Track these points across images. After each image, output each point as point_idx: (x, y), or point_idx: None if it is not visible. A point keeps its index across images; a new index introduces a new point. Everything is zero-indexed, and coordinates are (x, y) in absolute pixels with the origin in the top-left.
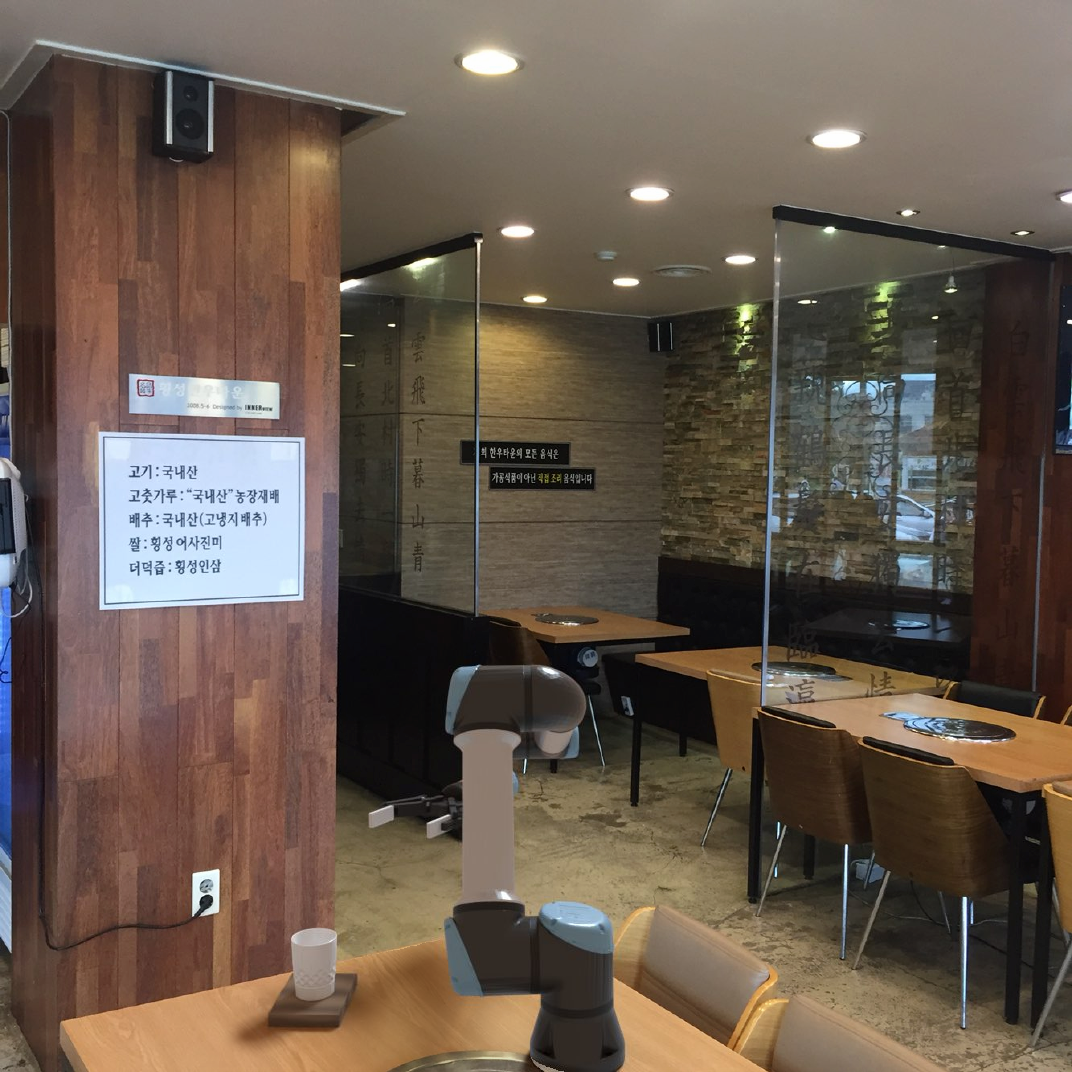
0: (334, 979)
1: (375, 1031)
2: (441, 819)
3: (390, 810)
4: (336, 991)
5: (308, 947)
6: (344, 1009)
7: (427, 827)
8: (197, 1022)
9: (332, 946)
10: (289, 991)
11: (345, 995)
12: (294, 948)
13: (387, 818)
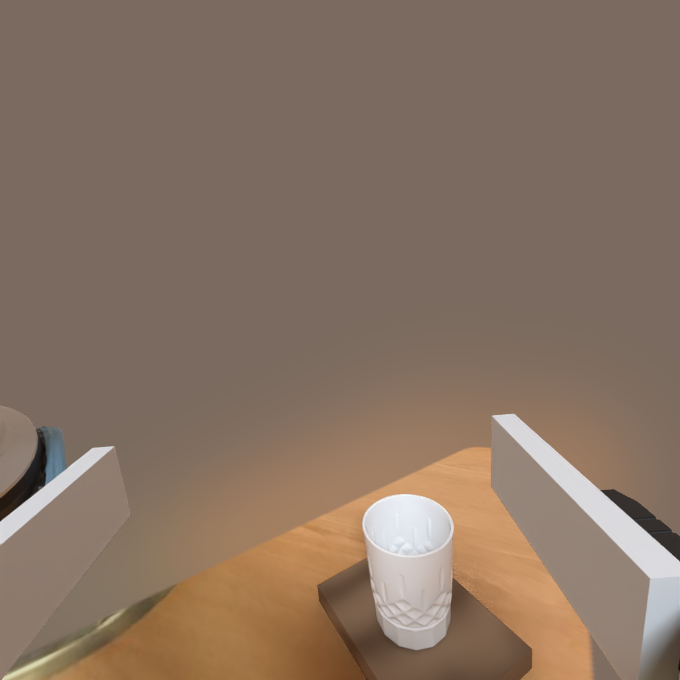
0: (382, 616)
1: (256, 623)
2: (3, 522)
3: (606, 565)
4: (384, 641)
5: (381, 501)
6: (339, 629)
7: (114, 466)
8: (486, 514)
9: (364, 539)
10: (452, 593)
11: (356, 639)
12: (411, 503)
13: (572, 579)
